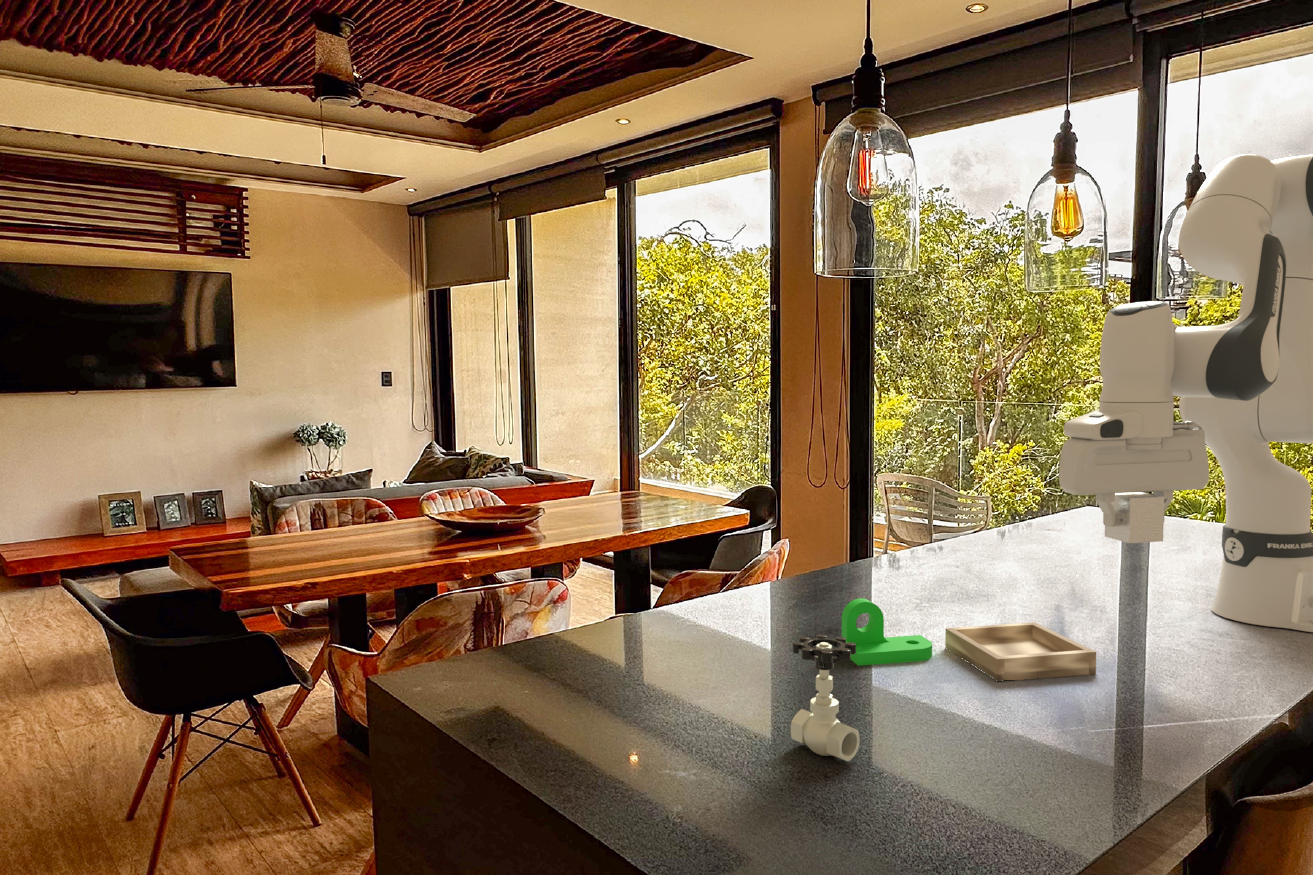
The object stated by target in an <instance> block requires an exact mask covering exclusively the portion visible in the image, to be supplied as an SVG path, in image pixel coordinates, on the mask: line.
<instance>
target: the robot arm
mask: <svg viewBox="0 0 1313 875" xmlns="http://www.w3.org/2000/svg"><path fill="white" fill-rule="evenodd" d="M1178 249H1179V251H1180V253H1181V256H1182V258H1183V259H1184V261H1185V263H1186V264H1188V265H1189V267H1191V268H1192V269H1193V270H1195V271H1196V272H1197V273H1199V274H1201V275H1202V276H1205V277H1208V278H1211V279H1212V280H1213V279H1214V280H1219V281H1223V282H1224V281H1225V282H1230V283H1235V284H1237V285H1241V286H1243V287H1242V294H1241V299H1240V307H1239V313H1238V317H1237V318H1235V319H1234V320H1232V321H1229V322H1227V323H1222V324H1219V325H1218V324H1217V325H1199V326H1198V325H1197V326H1178V324H1175V323H1174V321H1173V316H1172V310H1171V306H1170V304H1169V303H1167V302H1165V301H1159V300H1147V301H1135V302H1131V303H1128V302H1127V303H1124V304H1120V305H1116V306H1115V307H1113V308H1111V309H1110V310H1108V311H1107V313H1106V315H1105V318H1104V323H1103V327H1102V334H1101V343H1100V352H1099V353H1100V355H1099V356H1100V357H1099V372H1100V374H1101V379H1102V389H1101V392H1100V397H1099V406H1098V407H1099V408H1098V409H1097V408H1096V409H1095V410H1093V411H1090V412H1087V413H1085V414H1083V415H1080V416H1078V417H1075V418H1071V419H1070V420H1067V421H1065V423H1064V426H1063V433H1064V435H1065V437H1069V438H1068V439H1067V440H1065V442H1064V444H1063V445H1062V447H1061V451H1060V456H1059V457H1060V458H1059V469H1058V470H1059V473H1058V474H1059V475H1058V482H1059V486H1060V487H1061V488H1062V490H1063V492H1064V493H1067V494H1070V495H1076V496H1089V495H1095V502H1096V503H1097V505H1098V507H1099V509H1100V510H1101V512H1102V513H1103V516H1102V523H1103V525H1104V527H1105V526H1109V527H1114V526H1121V515H1122V514H1121V513H1116V512H1115V510H1114V508H1113V506H1112V504H1111V502H1113V501H1115V493H1133V492H1142V493H1147V492H1148V493H1150V492H1151V493H1152V495H1157V496H1163V497H1164V515H1166V514H1165V512H1166V511H1167V510H1168V508H1169V506H1170V504H1171V503H1172V501H1173V499H1174V491H1188V490H1203V489H1205V487H1206V486H1207V485H1208V483H1209V481H1210V468H1209V467H1210V466H1209V458H1208V450H1207V447H1208V448H1209V450H1210V451H1211V452H1212V454H1213V456H1214V458H1216V460H1217V462H1218V465H1219V467H1220V469H1221V472H1222V475H1223V476H1222V477H1223V479H1224V490H1225V525H1223V526H1222V534H1221V548H1222V554H1223V558H1222V559H1223V560H1222V564H1221V570H1220V575H1219V580H1218V585H1217V590H1216V594H1215V596H1214V600H1213V602H1212V606H1211V608H1210V610H1211V611H1212V612H1213V613H1214V614H1216V615H1218V616H1220V617H1222V618H1225V619H1230V620H1233V621H1237V622H1241V623H1245V624H1250V625H1256V626H1257V625H1258V626H1262V627H1263V626H1264V627H1272V628H1273V627H1274V628H1280V629H1282V628H1283V629H1291V630H1296V631H1302V632H1308V633H1313V532H1312V531H1311V509H1312V508H1311V507H1312V487H1311V484H1310V483H1309V480H1308V479H1307V478H1306V477H1305V476H1304V475H1303V474H1302V473H1301V472H1300V471H1298V470H1296V469H1295V468H1293V467H1291V466H1288V465H1287V464H1284V463H1282V462H1281V461H1279V460H1278V459H1277V458H1276V457H1275V455H1274V454H1273V453H1272V451H1271V447H1270V443H1271V442H1274V443H1290V444H1291V443H1293V444H1296V443H1297V444H1313V154H1306V155H1305V154H1304V155H1296V156H1290V157H1283V158H1279V159H1273V160H1270V159H1269V158H1266V157H1264V156H1261V155H1258V154H1248V153H1247V154H1246V153H1245V154H1238V155H1234V156H1231V157H1228V158H1226V159H1224V160H1223V161H1221V162H1219V163H1218V164H1217V165H1216V167H1215V168H1214V169H1213V170H1212V171H1211V172H1210V174H1209V175H1208V176H1207V177H1206V179H1205V180H1204V181H1203V183H1202V184H1201V186H1200V188H1199V189H1198V191H1197V192H1196V194H1195V196H1194V198H1193V200H1192V202H1191V204H1190V206H1189V209H1188V211H1187V212H1186V215H1185V216H1184V219H1183V221H1182V224H1181V227H1180V230H1179V235H1178ZM1174 397H1179V403H1178V404H1179V405H1178V406H1179V407H1178V408H1179V410H1178V411H1179V415H1180V418H1181V419H1180V420H1181V421H1174V415H1175V413H1174V406H1175V403H1174V402H1175V400H1174Z"/></svg>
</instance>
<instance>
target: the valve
mask: <svg viewBox="0 0 1313 875" xmlns="http://www.w3.org/2000/svg"><path fill="white" fill-rule="evenodd" d="M798 637H799V638H798V641H793V642H792V647H791V648H792V654H797V655H799V654H800V650H801V659H802V660H804V661H813V662H814V668H815V669H817V670H819V674H817V675H816V676H815V690H816V691H818V692H817V693H816V694H815V696H814V697H812V698H811V699H810V701H809V702H810V703H809V710H810V711H809V710H806V709H803V708H801V709H800V710H798V711H797V712H796V714H795V715H794V717H793V719H792V720H791V724H790V737H791V740H794V741H796V742H799V743H801V744H802V745H806V746H807V747H808V748H809V749H810V750H811V751H812V752H813V753H814V754H815V753H816V754H817V755H820V756H822V757H824V756H826V757H828V756H833V757H835V758H838V759H840V760H844V761H846V762H850V761H851V760H852V759H853V758H854V757H855V756H856V754H857V752H858V750H859V748H860V732H859V730H858V729H856V728H854V727H852V726H849V725H848V724H847V725H846V724H844V723H841V721H840V720H839V719H838V718H837V716H836V715H837V714H838V713H839V711H840V710H839V709H840V708H839V707H840V706H839V705H840V703H839V701H838V699H836V698H834V694H831V692H832V691H833V689H834V682H833V681H834V676H832V675H830V670H833V669H834V668H835V666H834V665H835V664H838V663H841V662H842V661H850V660H851V654H855V653H856V644H855V643H853V642H847V643H846V638H845V637H842V636H836V637H835V638H828V635H826V634H821V633H820V634H817V635H816V637H815V638H810V637H809V636H807V635H806V636H803V635H802V636H798ZM833 647H835V648H833Z"/></svg>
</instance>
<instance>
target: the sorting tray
mask: <svg viewBox="0 0 1313 875" xmlns="http://www.w3.org/2000/svg"><path fill="white" fill-rule="evenodd" d="M944 638H945V643H944V644H945V645H944V646H945V649H946V648H947V649H948V650H947V649H946V650H947V651H949V650H950V651H951V652H950V651H949V652H950V653H951V654H953V653H955V654H956V655H957V656H956V655H955V654H954V655H955V656H956V657H958V656H959V657H960V658H959V657H958V658H959V659H961V658H963V659H964V660H966V661H968V662H969V663H970V664H973V665H974V666H976V667H977V668H978V669H980V670H982V671H983V672H985V673H986V674H987V675H989V676H991V677H993V678H994V679H995V680H997V681H1002V680H1015V681H1025V680H1026V679H1027V680H1037V678H1039V679H1051V678H1062V677H1063V678H1064V677H1075V676H1076V677H1077V676H1089V675H1090V676H1091V675H1097V674H1096V673H1097V651H1095V650H1093V649H1091V648H1090V647H1087V646H1085V645H1083V644H1081V643H1079V642H1077V641H1075V640H1073V639H1071V638H1068V637H1067V636H1064V635H1062V634H1060V633H1058V632H1056V631H1053V630H1052V629H1049V628H1047V627H1045V625H1044V626H1043V625H1041V624H1039V623H1037V622H1034V621H1032V622H1018V623H1006V624H990V625H987V624H986V625H976V626H975V625H973V626H963V627H962V626H961V627H960V626H959V627H946V628H945V637H944ZM964 660H963V661H964ZM970 664H969V665H970ZM978 669H977V670H978ZM983 672H982V673H983ZM986 674H985V675H986ZM987 675H986V676H987ZM989 676H988V677H989ZM1024 679H1025V680H1024ZM1039 679H1038V680H1039ZM995 680H994V681H995ZM997 681H996V682H997ZM1002 682H1003V681H1002Z"/></svg>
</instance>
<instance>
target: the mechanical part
mask: <svg viewBox="0 0 1313 875" xmlns="http://www.w3.org/2000/svg"><path fill="white" fill-rule="evenodd" d="M863 614H867V615H868V622H867V624H866V625H865V626H864V627H861V628H858V627H857V620H858V618H859V617H860V616H861V615H863ZM884 622H885V619H884V613H883V611H882V610H881V608H880V607H879V606H878V605H877V604H875V602H872V601H870V599H869V600H868V599H867V598H859V597H858V598H855V599H853V600H851V601H849V602H848V603H847V604H846V605H845V607H844V609H843V611H842V614H841V637H845V638H846V643H847V642H853V643H855V644H856V653H855V654H851V659H850V660H851V661H852V662H853V663H854V664H855V665H856V666H859V667H860V666H871V665H872V666H873V665H884V664H902V663H913V662H915V663H916V662H925V661H929V660H931V659H930V658H932V657H933V642H931V641H930V640H928V639H927V638H926V637H924V636H923V635H921V634H916V635H915V634H913V635H902V636H887V637H885V624H884Z"/></svg>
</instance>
